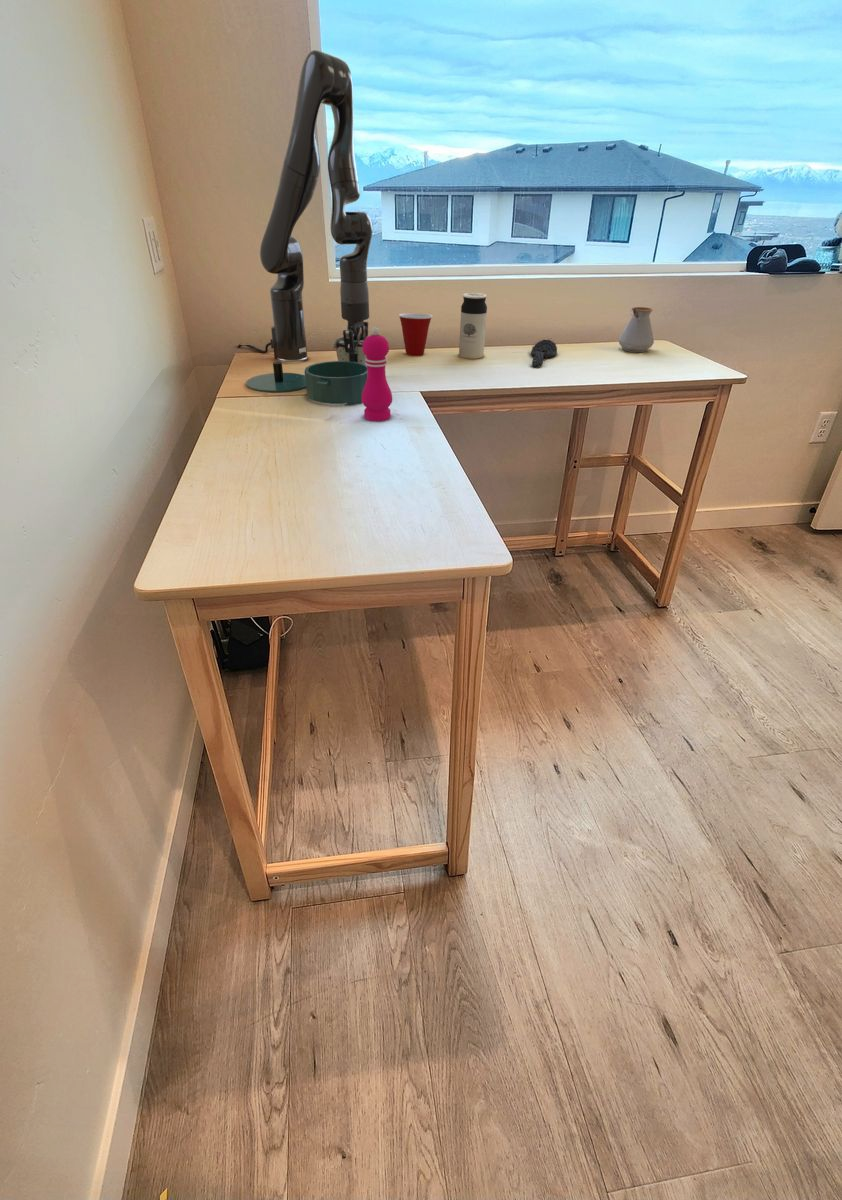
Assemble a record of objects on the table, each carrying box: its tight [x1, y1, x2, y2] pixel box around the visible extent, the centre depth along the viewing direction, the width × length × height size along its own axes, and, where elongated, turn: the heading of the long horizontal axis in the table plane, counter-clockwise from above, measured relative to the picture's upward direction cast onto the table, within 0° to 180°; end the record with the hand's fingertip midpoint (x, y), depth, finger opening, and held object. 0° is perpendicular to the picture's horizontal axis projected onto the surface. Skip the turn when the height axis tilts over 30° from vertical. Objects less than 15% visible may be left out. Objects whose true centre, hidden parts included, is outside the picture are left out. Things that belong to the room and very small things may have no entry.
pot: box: [304, 360, 368, 407], centre depth 159 cm, size 17×22×7 cm
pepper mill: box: [361, 327, 393, 422], centre depth 142 cm, size 7×7×20 cm
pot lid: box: [245, 361, 306, 393], centre depth 167 cm, size 18×18×6 cm
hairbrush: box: [530, 337, 558, 368], centre depth 197 cm, size 8×4×25 cm
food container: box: [333, 336, 367, 365], centre depth 174 cm, size 12×6×10 cm, turn 84°
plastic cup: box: [398, 313, 433, 357], centre depth 197 cm, size 11×11×12 cm
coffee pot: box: [618, 306, 655, 353], centre depth 202 cm, size 21×12×15 cm, turn 152°
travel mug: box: [458, 292, 488, 360], centre depth 194 cm, size 8×8×18 cm
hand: (357, 364), depth 175 cm, fingers closed on food container, 5 cm apart
